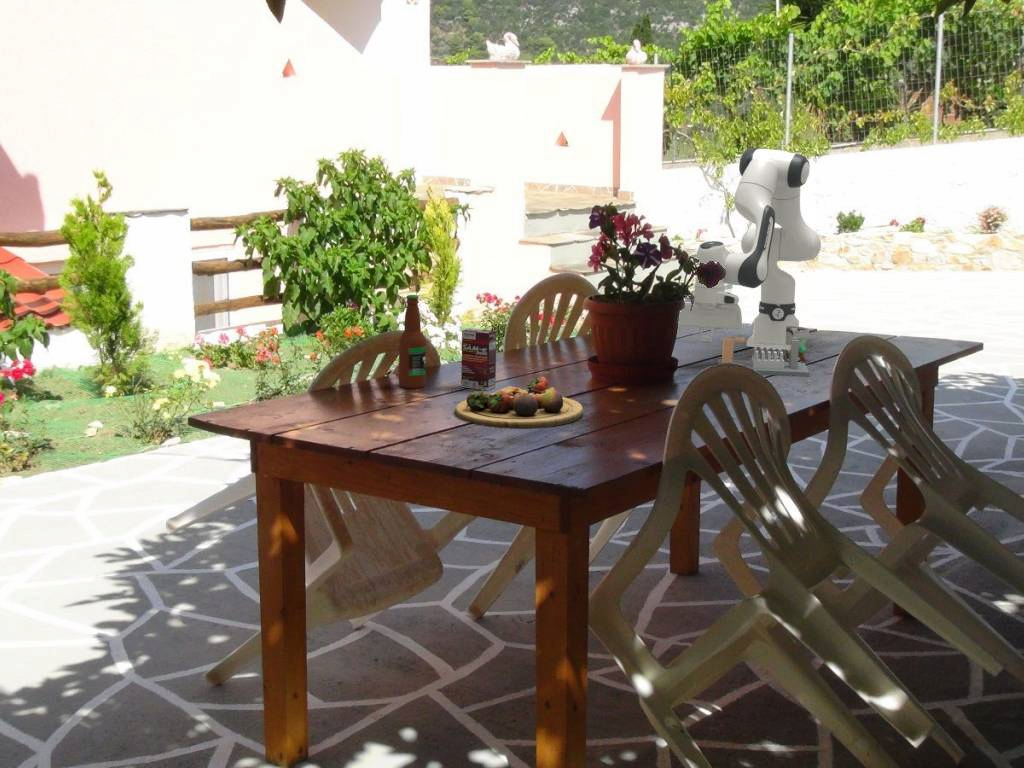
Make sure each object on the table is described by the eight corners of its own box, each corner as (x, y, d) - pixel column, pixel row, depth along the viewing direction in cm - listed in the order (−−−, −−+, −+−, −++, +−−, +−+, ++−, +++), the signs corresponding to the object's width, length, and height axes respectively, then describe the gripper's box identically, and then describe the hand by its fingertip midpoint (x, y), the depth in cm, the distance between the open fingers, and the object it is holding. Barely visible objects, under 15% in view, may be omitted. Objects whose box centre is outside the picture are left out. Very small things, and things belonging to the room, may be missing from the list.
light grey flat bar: (746, 345, 385) (746, 340, 384) (796, 349, 383) (796, 344, 383) (746, 346, 382) (747, 342, 382) (796, 351, 380) (797, 346, 380)
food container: (811, 364, 395) (813, 332, 393) (791, 363, 395) (793, 331, 393) (803, 357, 407) (805, 326, 405) (784, 356, 407) (786, 325, 405)
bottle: (417, 389, 346) (417, 297, 341) (394, 387, 349) (393, 296, 344) (430, 385, 352) (430, 294, 347) (407, 382, 355) (407, 293, 350)
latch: (721, 361, 388) (723, 336, 387) (743, 362, 387) (744, 337, 386) (722, 364, 382) (723, 339, 381) (744, 365, 381) (745, 340, 380)
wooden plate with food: (510, 396, 341) (510, 365, 340) (608, 412, 322) (609, 380, 320) (428, 418, 317) (428, 385, 316) (529, 437, 297) (529, 402, 296)
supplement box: (460, 387, 350) (460, 330, 347) (469, 384, 354) (469, 327, 351) (488, 390, 346) (488, 332, 343) (496, 387, 350) (497, 330, 347)
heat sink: (717, 363, 393) (719, 332, 392) (804, 366, 390) (806, 335, 388) (719, 372, 378) (720, 340, 376) (809, 376, 375) (811, 344, 373)
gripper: (673, 296, 380) (671, 342, 382) (743, 298, 377) (741, 345, 380) (673, 294, 386) (671, 339, 389) (742, 296, 384) (740, 342, 386)
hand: (706, 342), depth 384 cm, fingers closed
